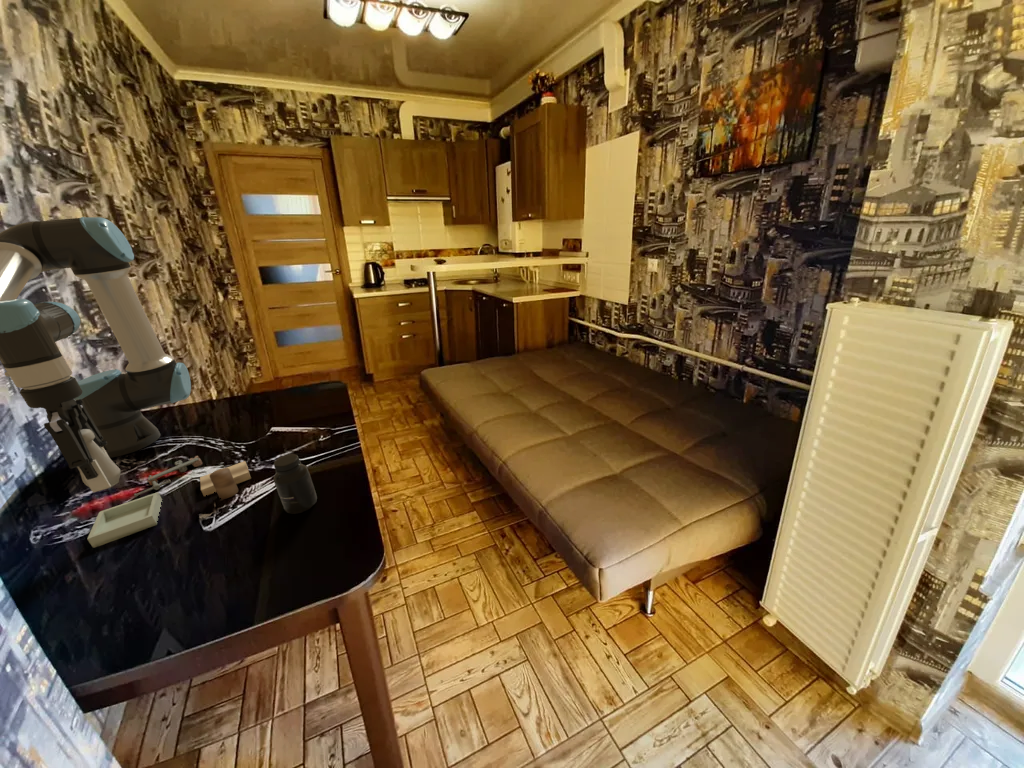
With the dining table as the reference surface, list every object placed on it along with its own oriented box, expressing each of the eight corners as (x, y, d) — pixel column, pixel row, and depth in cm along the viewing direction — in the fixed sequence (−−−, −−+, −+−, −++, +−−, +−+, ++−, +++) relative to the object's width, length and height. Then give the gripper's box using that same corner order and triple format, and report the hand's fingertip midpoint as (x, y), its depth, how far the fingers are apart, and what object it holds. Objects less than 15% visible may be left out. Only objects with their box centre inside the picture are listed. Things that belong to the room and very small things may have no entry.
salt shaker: (105, 478, 89) (74, 426, 84) (131, 475, 89) (103, 423, 84) (81, 495, 84) (47, 441, 79) (110, 491, 84) (77, 437, 79)
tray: (104, 520, 92) (99, 511, 91) (162, 500, 98) (158, 492, 97) (93, 548, 84) (87, 539, 83) (156, 524, 89) (151, 515, 88)
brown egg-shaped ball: (219, 492, 98) (209, 472, 96) (238, 486, 100) (229, 465, 98) (219, 501, 95) (209, 480, 93) (238, 493, 97) (229, 473, 95)
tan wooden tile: (203, 484, 103) (200, 477, 102) (248, 468, 108) (245, 460, 107) (204, 498, 98) (200, 490, 97) (251, 479, 103) (248, 472, 102)
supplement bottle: (285, 519, 87) (266, 473, 82) (285, 501, 93) (267, 457, 88) (319, 507, 90) (303, 462, 85) (317, 490, 95) (302, 447, 91)
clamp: (194, 452, 115) (204, 463, 109) (197, 458, 116) (207, 469, 109) (126, 479, 105) (133, 493, 98) (130, 486, 105) (137, 500, 99)
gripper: (37, 374, 83) (93, 468, 92) (-4, 404, 68) (68, 512, 77) (86, 365, 86) (135, 456, 95) (57, 390, 72) (119, 496, 81)
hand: (105, 481), depth 86 cm, fingers closed on salt shaker, 6 cm apart
